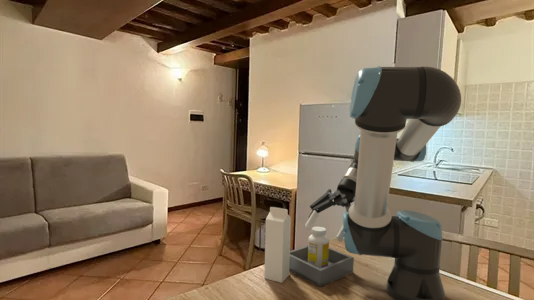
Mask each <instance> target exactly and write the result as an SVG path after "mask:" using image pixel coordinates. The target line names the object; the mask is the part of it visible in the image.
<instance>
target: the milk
mask: <svg viewBox="0 0 534 300" xmlns="http://www.w3.org/2000/svg"><path fill="white" fill-rule="evenodd" d="M288 212H289V210H288V209H287V208H282V207H276V206H270V207H269V212H268V215H267V216H266V218H265V236H264V237H265V238H264V239H265V240H264V243H265V244H264V247H265V248H264V276H263V277H264V279H265V280H270V281H274V282H278V283H281V284H282V283H283V282H284V281H285V280H286V279H287V278H288V277H289V275H290V271H289V267H290V251H291V227H292V217H291V216H290V214H288Z"/></svg>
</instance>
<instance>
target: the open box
mask: <svg viewBox="0 0 534 300" xmlns="http://www.w3.org/2000/svg"><path fill="white" fill-rule="evenodd" d="M354 260H355V258H354V256H351V255H348V254H347V253H344V252H341V251H339V250H337V249H334V248H331V247H329V254H328V266H326V267H323V268H321V269H320V268H318V267H316V266H314V265H312V264H310V263H308V245H305V246H302V247H299V248H296V249H293V250H290V267H289V272H291V273H293V274H295V275H297V276H299V277H301V278H302V279H303V280H305V281H308V282H309V283H312V284H314V285H315V286H317V287H319V288H321V287H323V286H325V285H328V284H330V283H332V282H335V281H337V280H339V279H341V278H344V277H346V276H348V275H350V274H352V273H354Z"/></svg>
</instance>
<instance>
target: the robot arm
mask: <svg viewBox="0 0 534 300" xmlns="http://www.w3.org/2000/svg"><path fill="white" fill-rule="evenodd" d="M351 91H352V92H351V97H350V105H349V117H350V118H352V119H354V124H355V126H356V127H357V128H358V129H359V130H360V134H359V135H358V136H357V139H356V142H355V146H354V147H355V149H354V156H353V158H352V161H351V163H350V165H349V167H347V169H346V171H345V173H344V175H343V176H342V178H341V179H340V181H339V183H338V184H337V188H336V190H335V191H332V189H331V188H329V189H328V190H326V192H325V193H324V194H323V195H322V196H320V197H318V198H317V199H316V200H315V201H314V202H312V203H311V204H310V205H309V208H310V210H311V212H310V213H309V215H308V220H306V222H305V225H304V226H305V228H306V229H307V230H309V231H311V230H312V228H313V227H314V225H315V223H316V221H317V219H318V217H319V216H320V214H319V213H322V212H323V211H325V210H326V209H329V208H330V207H335V206H340V207H343V208H345V212H343V214H342V225H341V227H340V228H339V230H338V233H337V234H336V236H335V238H336V239H337V240H338V241H339V242H342V241H343V240H344V248H345V250H346V252H348V253H350V254H354V255H359V256H373V257H383V258H394V264H393V266H392V268H391V271H390V273H389V275H388V278H387V281H386V292H387V293H388V295H389V296H390V297H392V298H393V299H394V300H445V299H446V292H445V289H444V285H443V281H442V278H441V275H440V266H441V254H442V243H443V242H442V241H443V226H442V223H441V222H440V221H439V220H437V219H436V218H435V217H432V216H430V215H428V214H425V213H421V212H418V211H413V210H405V209H403V210H399V211H397V213H396V215H392V212H391V210H390V209H389V208H388V204H389V203H388V202H389V197H390V188H391V181H392V174H393V167H394V161H395V162H411V163H415V162H423V161H424V160H425V159H426V156H427V143H428V142H429V141H430V140H431V139H432V137H434V135H435V134H436V133H437V132H438V131H439V129H440V128H441V127H443V126H446V125H448V124H449V123H451V122H452V121H453V119H454V118H455V117H456V116H457V114H458V113H459V111H460V109H461V105H462V93H461V90H460V87H459V86H458V83H457V82H456V80H455V79H454V78H453V77H452V76H451V75H449V73H447V72H446V71H443V70H442V69H439V68H437V67H433V66H377V67H364V68H361V69H360V70H359V71H358V72H357V73H356V76H355V78H354V82H353V87H352V90H351ZM407 121H408V122H407ZM400 132H401V134H400V136H399V138H398V134H399V133H400ZM352 203H353V204H352Z"/></svg>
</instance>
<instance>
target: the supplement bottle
mask: <svg viewBox="0 0 534 300" xmlns="http://www.w3.org/2000/svg"><path fill="white" fill-rule="evenodd" d="M326 234H327V228H325V227H322V226H312V228H311V234H310V235H309V236H308V240H307V243H308V245H307V246H308V263H310V264H312V265H314V266H316V267H318V268H320V269H321V268H323V267H326V266H328V254H329V248H330V246H329V244H330V238H329V237H328V236H327V235H326Z"/></svg>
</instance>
